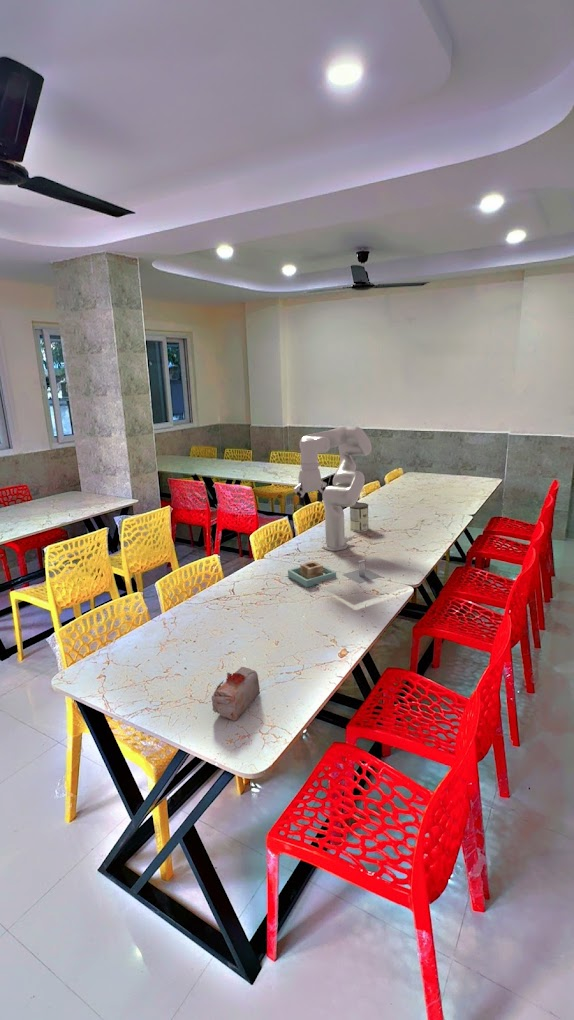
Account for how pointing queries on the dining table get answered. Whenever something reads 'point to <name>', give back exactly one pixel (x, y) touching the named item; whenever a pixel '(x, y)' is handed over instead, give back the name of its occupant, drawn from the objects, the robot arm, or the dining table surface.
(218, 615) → the dining table surface
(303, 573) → the oak collar
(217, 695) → the food item
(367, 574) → the stake stand
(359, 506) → the coffee can
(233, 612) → the dining table surface
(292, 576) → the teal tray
